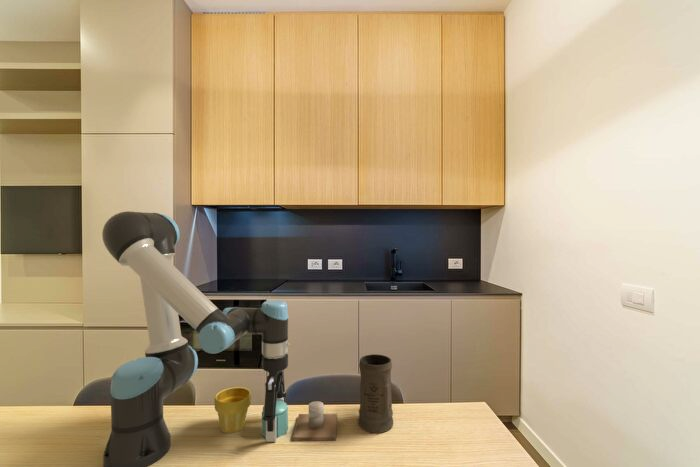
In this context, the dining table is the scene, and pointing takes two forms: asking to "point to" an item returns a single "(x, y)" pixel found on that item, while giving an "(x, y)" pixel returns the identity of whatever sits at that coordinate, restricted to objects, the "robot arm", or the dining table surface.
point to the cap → (278, 419)
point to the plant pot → (232, 408)
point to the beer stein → (375, 394)
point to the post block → (316, 425)
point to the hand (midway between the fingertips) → (275, 429)
